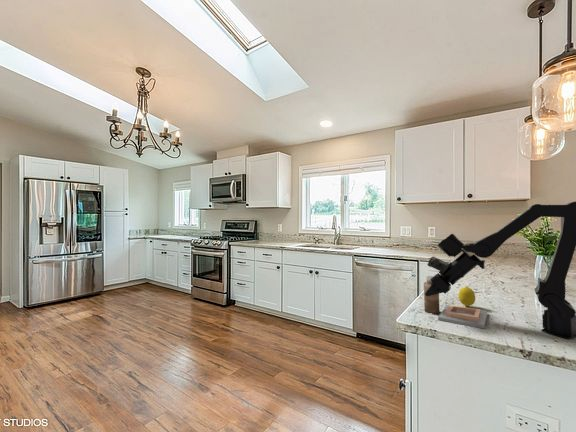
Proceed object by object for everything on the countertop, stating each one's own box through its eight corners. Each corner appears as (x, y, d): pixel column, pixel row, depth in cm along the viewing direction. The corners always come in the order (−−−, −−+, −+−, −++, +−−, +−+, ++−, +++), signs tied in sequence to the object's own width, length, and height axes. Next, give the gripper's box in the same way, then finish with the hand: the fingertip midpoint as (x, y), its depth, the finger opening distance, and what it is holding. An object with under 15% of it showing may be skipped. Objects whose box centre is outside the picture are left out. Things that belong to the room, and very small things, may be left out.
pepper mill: (442, 312, 102) (441, 277, 102) (432, 314, 100) (431, 278, 101) (431, 308, 107) (430, 275, 107) (421, 310, 105) (420, 276, 105)
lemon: (475, 310, 104) (475, 288, 104) (458, 308, 107) (458, 287, 107) (475, 306, 109) (474, 285, 109) (458, 304, 112) (458, 284, 112)
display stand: (487, 314, 100) (487, 307, 100) (484, 328, 87) (484, 321, 87) (446, 307, 108) (446, 301, 108) (438, 320, 95) (438, 313, 95)
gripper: (446, 247, 109) (417, 272, 116) (436, 252, 94) (403, 281, 101) (470, 269, 104) (438, 294, 111) (464, 278, 89) (428, 306, 96)
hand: (427, 293), depth 105 cm, fingers closed on pepper mill, 5 cm apart
